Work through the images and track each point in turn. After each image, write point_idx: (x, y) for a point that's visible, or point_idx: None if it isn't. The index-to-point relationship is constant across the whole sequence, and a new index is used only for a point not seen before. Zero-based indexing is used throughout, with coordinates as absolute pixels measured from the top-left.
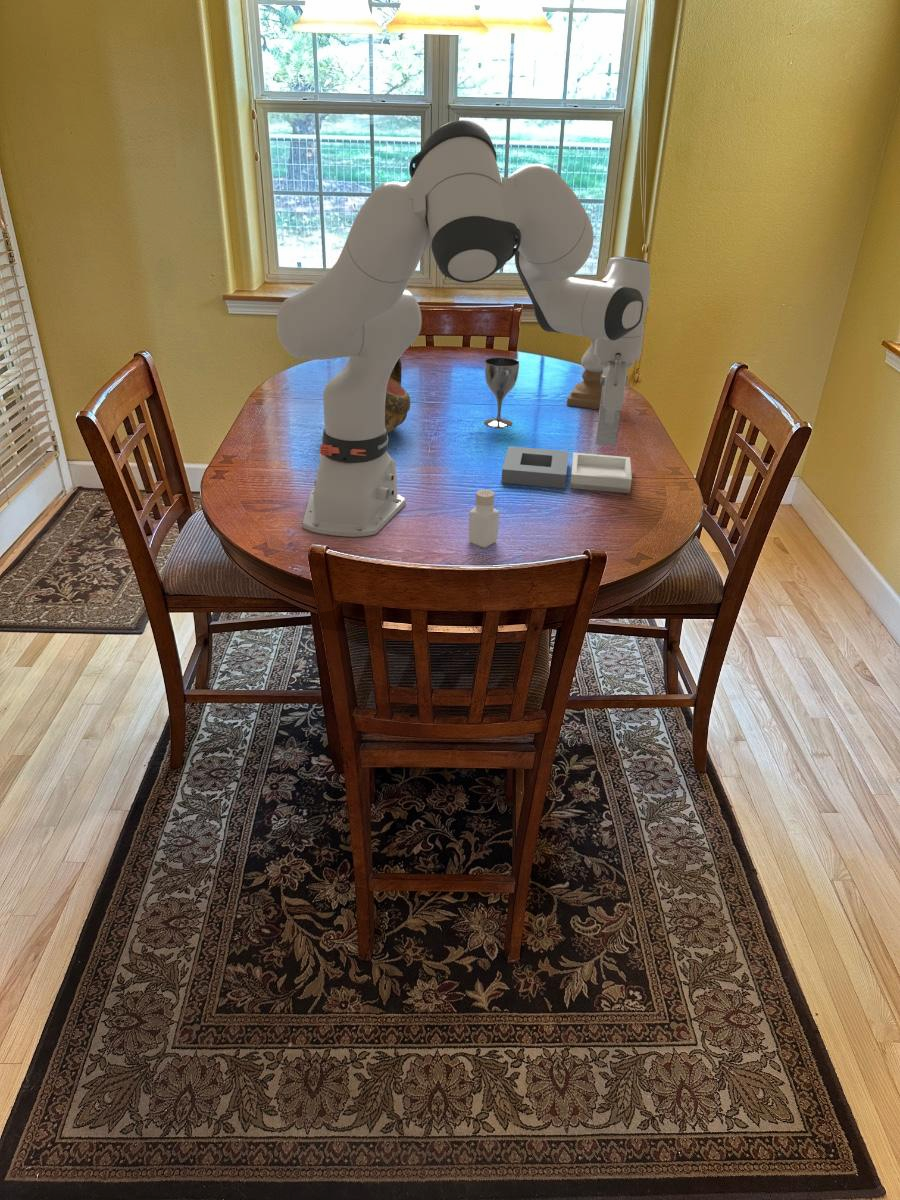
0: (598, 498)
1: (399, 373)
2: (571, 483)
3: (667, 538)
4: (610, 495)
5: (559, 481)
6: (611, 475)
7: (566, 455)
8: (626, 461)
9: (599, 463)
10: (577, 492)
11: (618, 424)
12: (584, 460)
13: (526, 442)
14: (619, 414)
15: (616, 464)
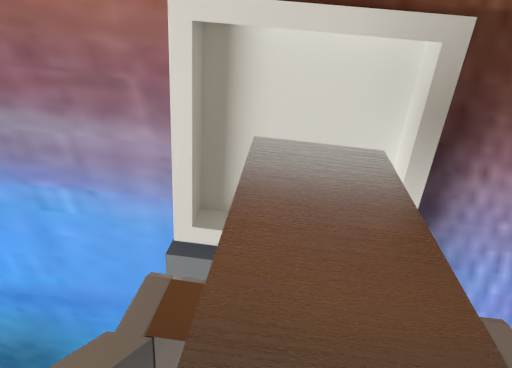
0: (487, 151)
1: None
2: None
3: None
4: (462, 102)
5: None
6: (305, 88)
7: (210, 265)
8: (229, 18)
9: (200, 131)
10: (425, 216)
11: (431, 236)
12: (197, 190)
13: (37, 315)
14: (475, 318)
15: (200, 58)
